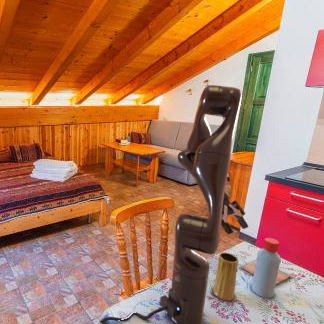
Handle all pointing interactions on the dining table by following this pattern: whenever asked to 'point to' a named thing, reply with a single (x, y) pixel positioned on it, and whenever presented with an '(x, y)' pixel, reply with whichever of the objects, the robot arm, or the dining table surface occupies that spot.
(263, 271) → the bottle
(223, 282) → the vase
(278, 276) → the coaster
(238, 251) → the dining table surface
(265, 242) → the cap
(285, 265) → the dining table surface
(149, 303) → the dining table surface
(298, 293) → the dining table surface
